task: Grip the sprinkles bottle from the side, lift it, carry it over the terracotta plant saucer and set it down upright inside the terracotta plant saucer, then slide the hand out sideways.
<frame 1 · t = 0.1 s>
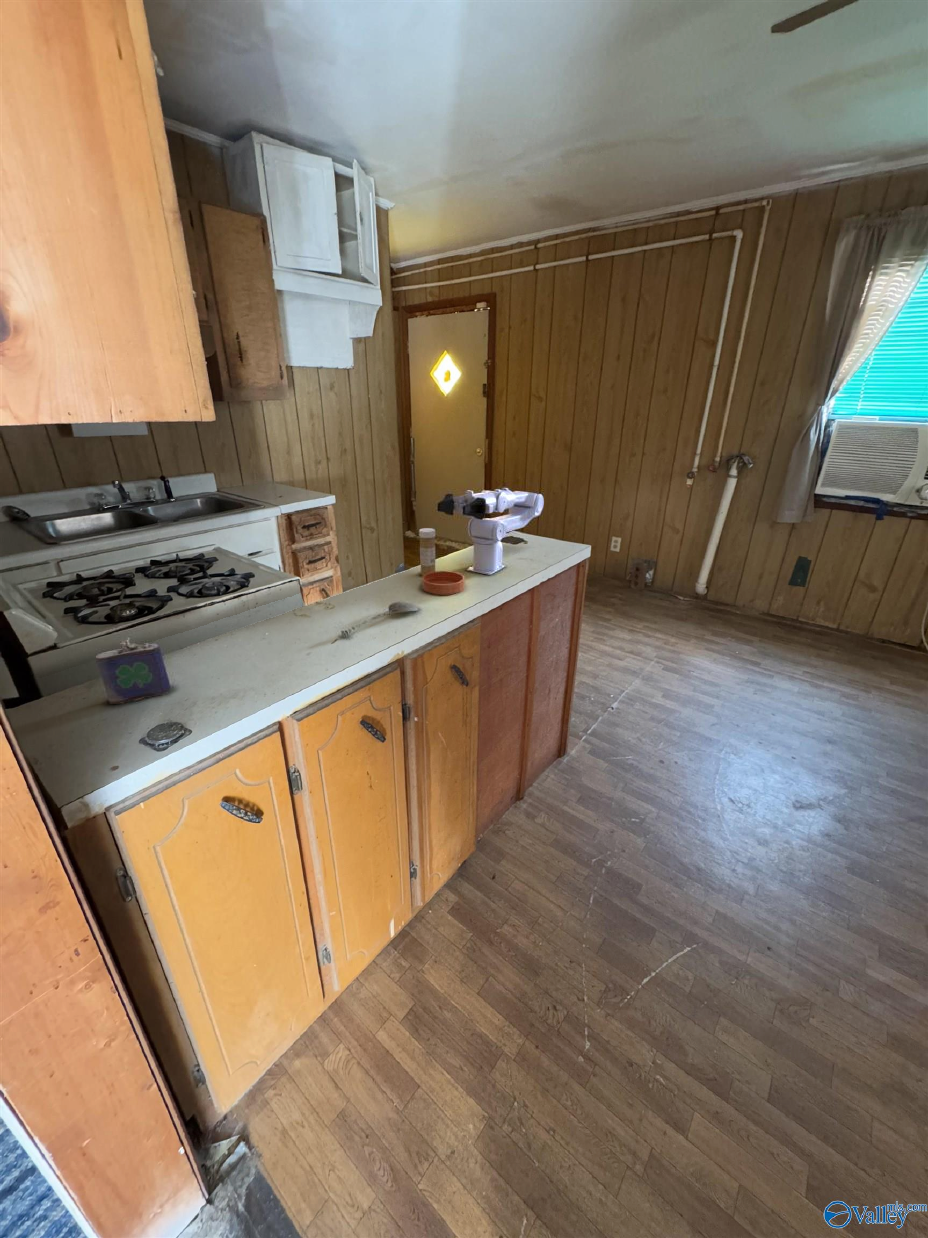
hand: (451, 508, 128), 22 cm above the worktop, tool horizontal, fingers open, 7 cm apart
sprinkles bottle: (428, 575, 148), on the worktop
flask: (141, 696, 87), on the worktop
soupspoon: (381, 622, 116), on the worktop
terracotta plant saucer: (443, 587, 137), on the worktop
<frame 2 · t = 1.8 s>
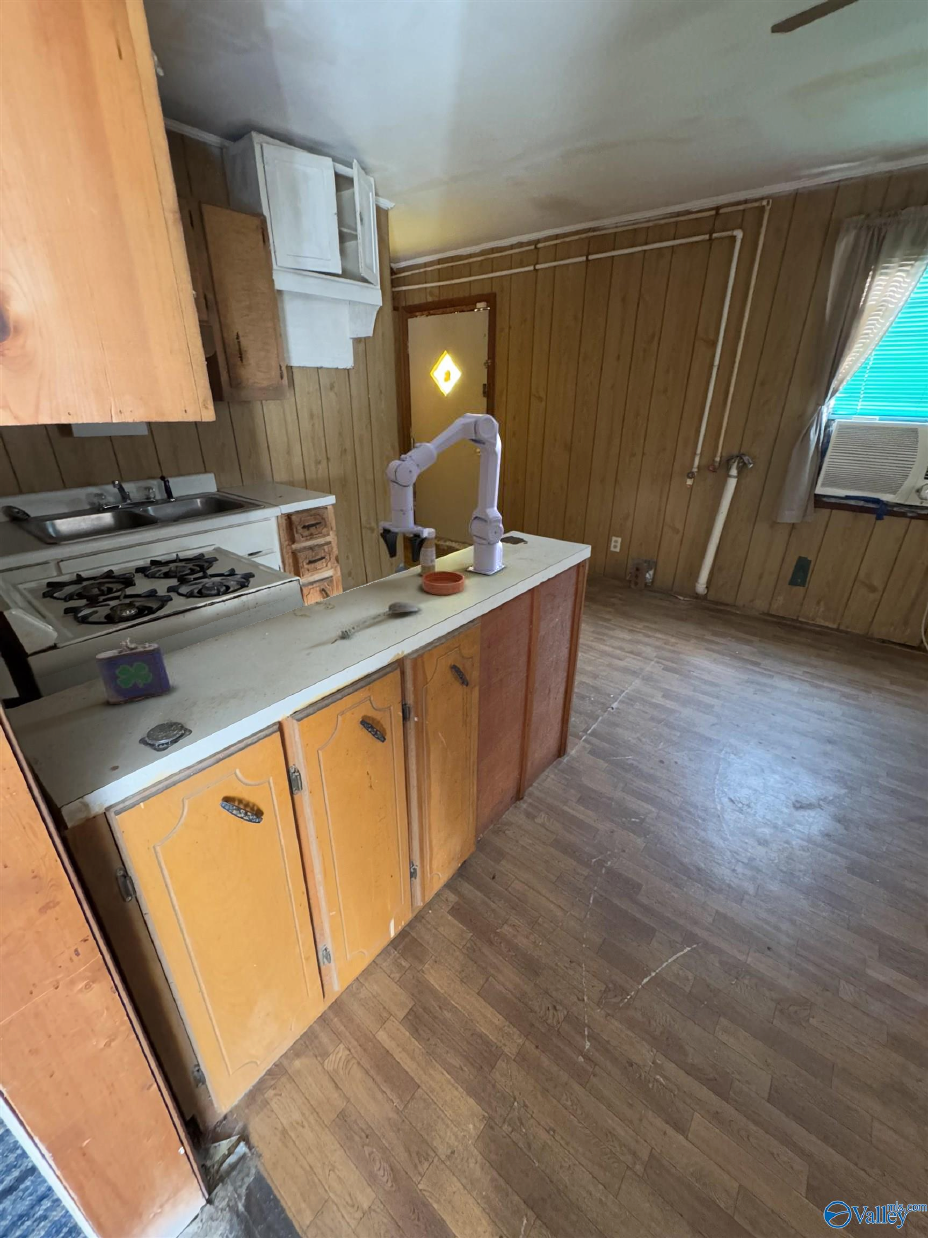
hand: (404, 559, 136), 8 cm above the worktop, tool pointing down, fingers open, 7 cm apart
nothing on the worktop moved.
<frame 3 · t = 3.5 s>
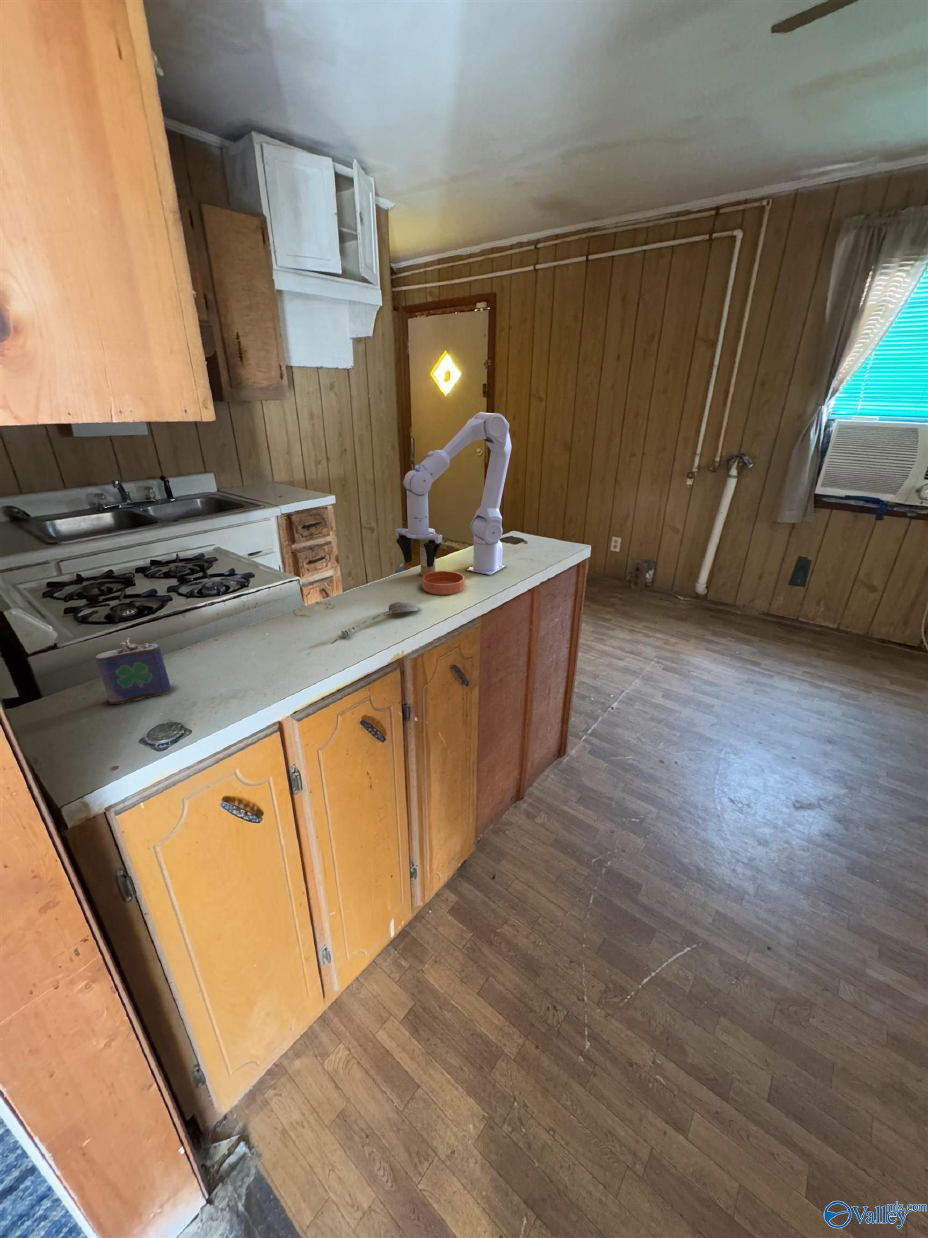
hand: (419, 564, 142), 4 cm above the worktop, tool pointing down, fingers open, 7 cm apart
nothing on the worktop moved.
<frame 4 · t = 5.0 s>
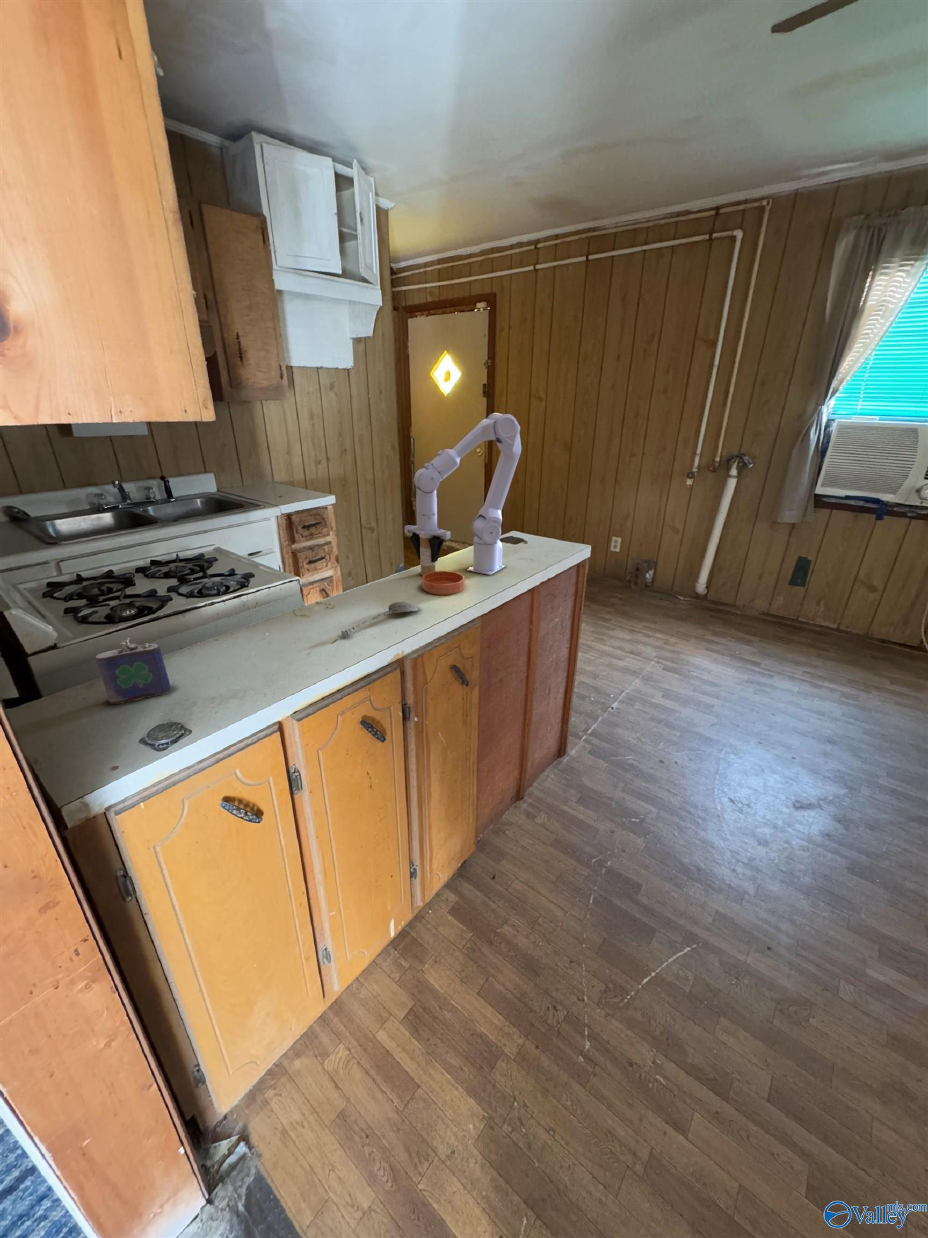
hand: (427, 560, 146), 4 cm above the worktop, tool pointing down, fingers closed on sprinkles bottle, 4 cm apart
sprinkles bottle: (428, 575, 148), on the worktop, touching gripper
everything else where it was.
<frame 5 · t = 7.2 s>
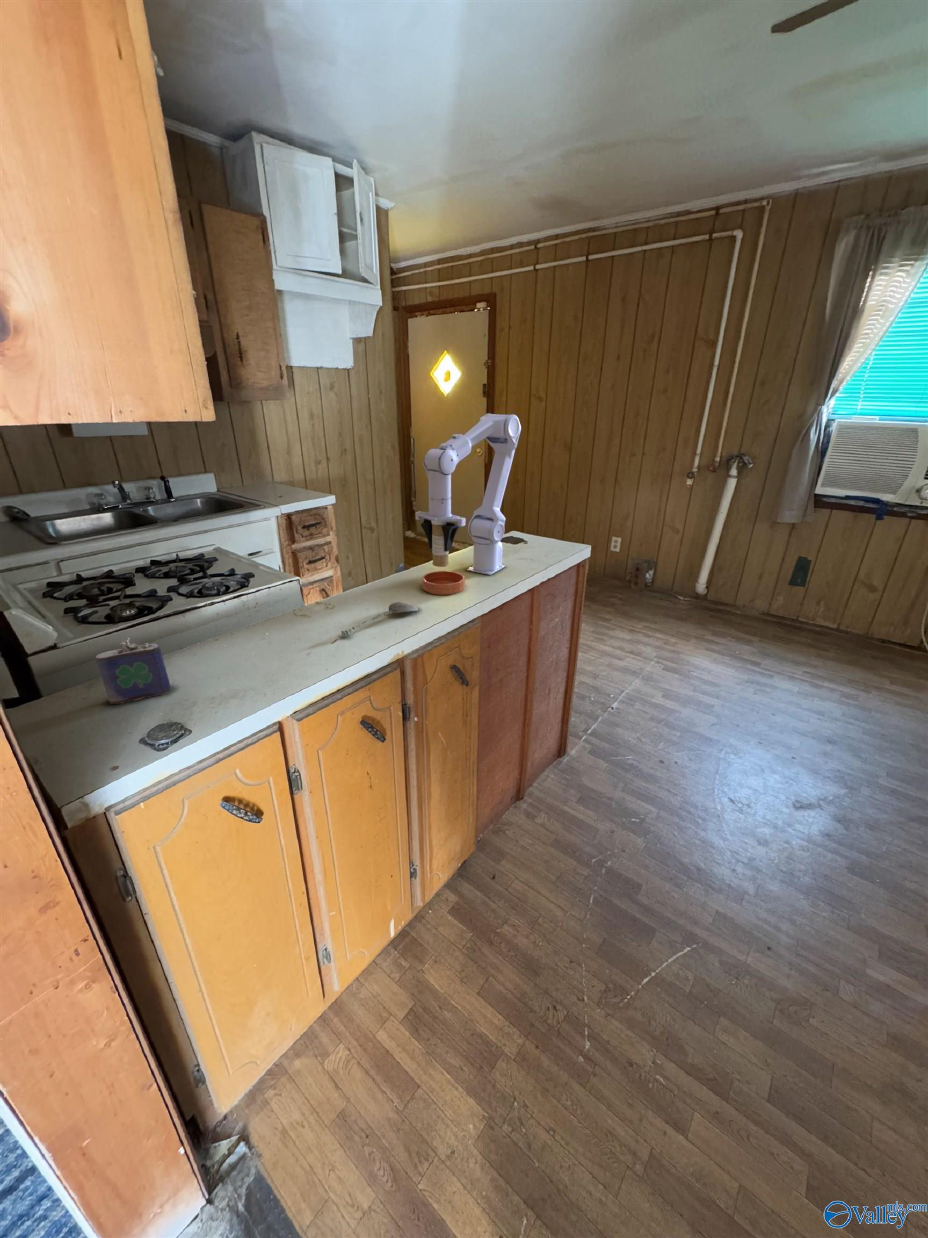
hand: (440, 549, 135), 10 cm above the worktop, tool pointing down, fingers closed on sprinkles bottle, 4 cm apart
sprinkles bottle: (440, 565, 137), point 6 cm above the worktop, touching gripper
everything else where it was.
when the fingers open (5 cm above the worktop, at t = 9.5 s): sprinkles bottle stays where it is, resting on terracotta plant saucer.
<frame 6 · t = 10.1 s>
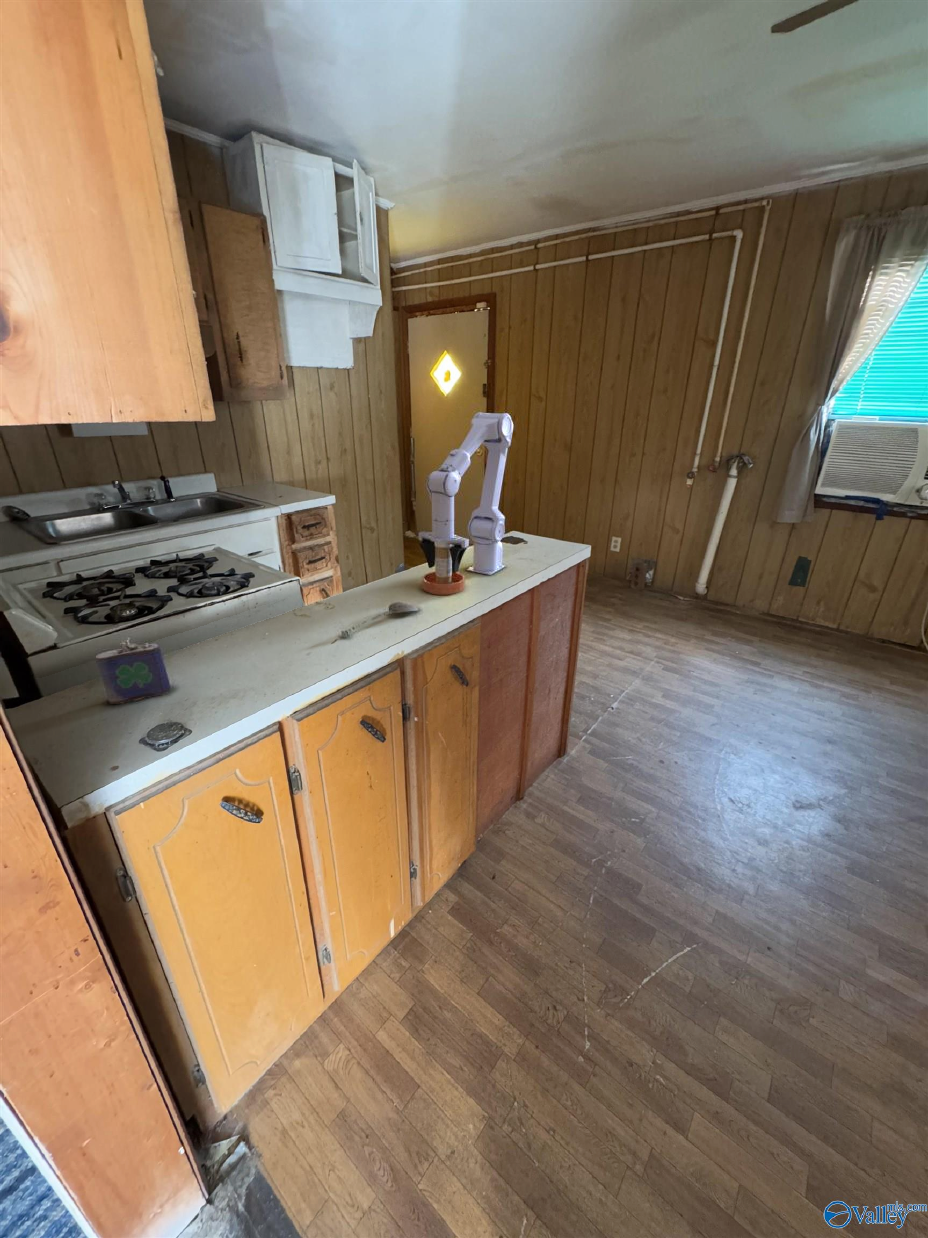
hand: (443, 569, 135), 5 cm above the worktop, tool pointing down, fingers open, 7 cm apart
sprinkles bottle: (443, 586, 137), resting on terracotta plant saucer
everything else where it was.
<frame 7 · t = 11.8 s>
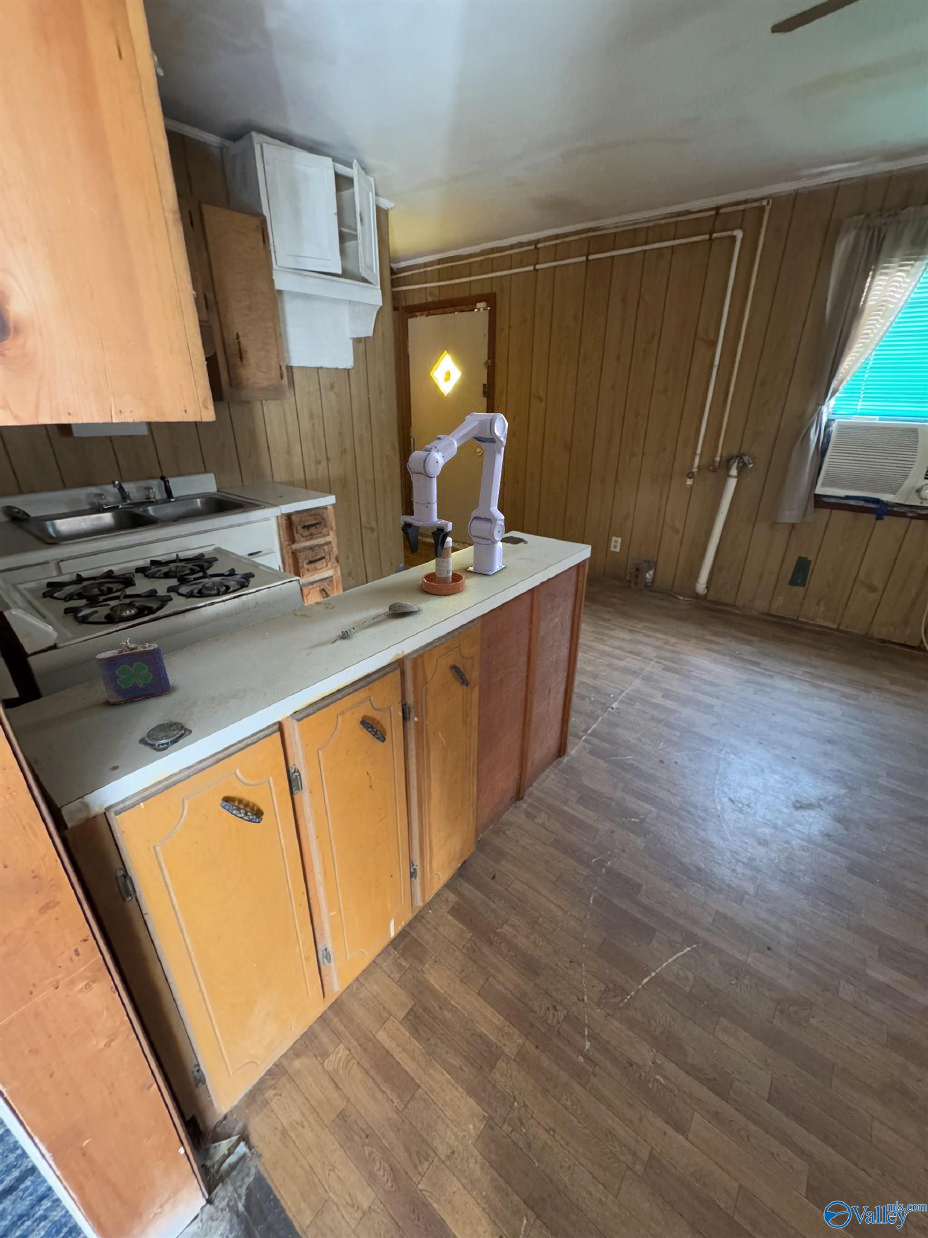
hand: (426, 554, 130), 10 cm above the worktop, tool pointing down, fingers open, 7 cm apart
nothing on the worktop moved.
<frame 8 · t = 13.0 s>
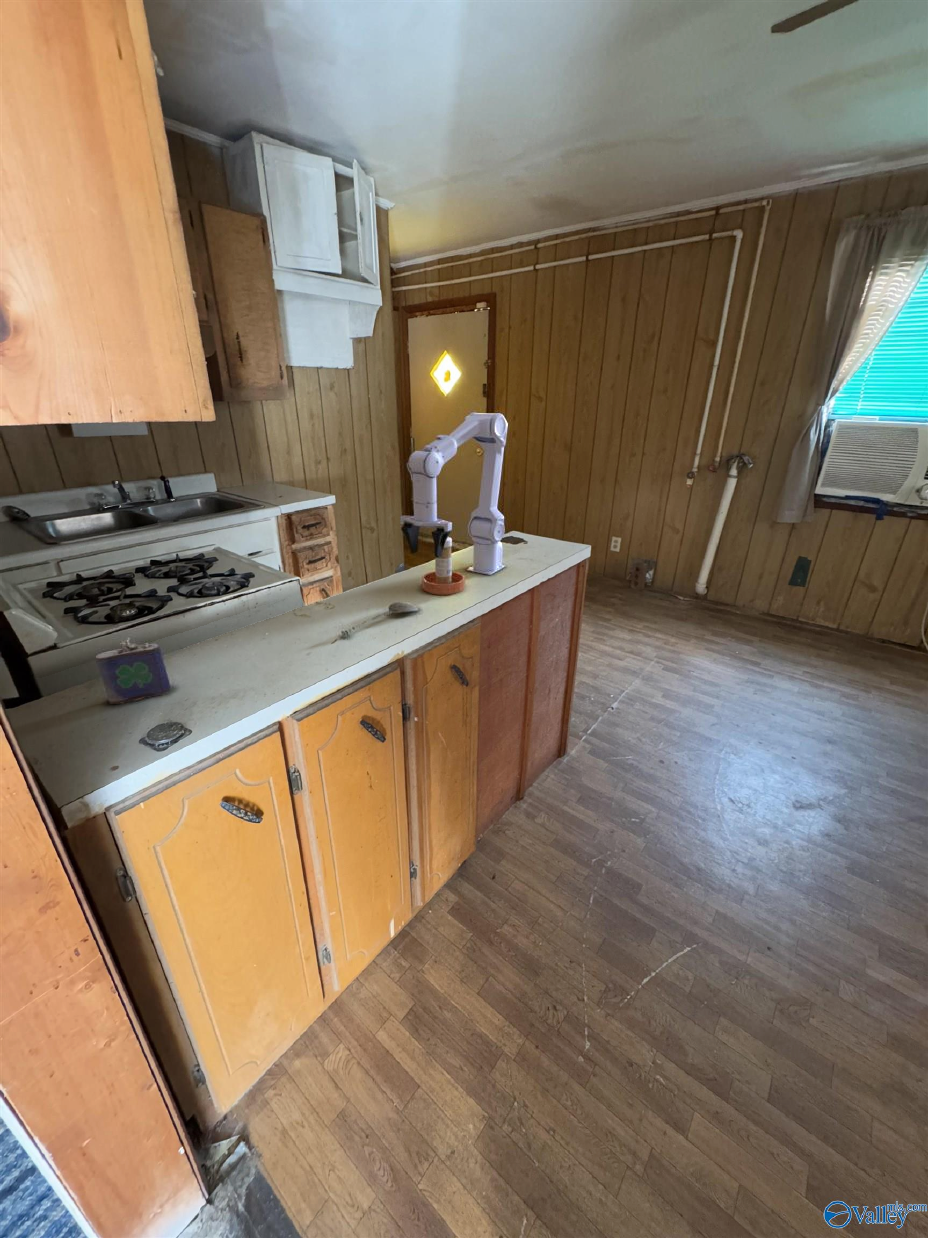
hand: (426, 554, 130), 10 cm above the worktop, tool pointing down, fingers open, 7 cm apart
nothing on the worktop moved.
at the end: sprinkles bottle 0.0 cm off-centre in the terracotta plant saucer, point 0.3 cm above the terracotta plant saucer's base; sprinkles bottle tilted 0° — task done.
